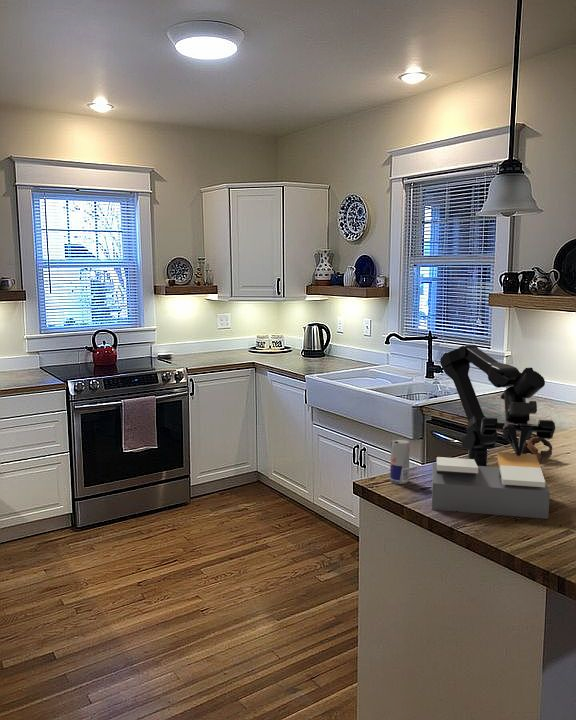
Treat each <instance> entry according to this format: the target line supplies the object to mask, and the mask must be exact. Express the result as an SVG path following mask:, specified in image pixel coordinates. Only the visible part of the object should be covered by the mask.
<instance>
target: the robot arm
mask: <svg viewBox="0 0 576 720" xmlns="http://www.w3.org/2000/svg"><path fill="white" fill-rule="evenodd" d="M439 362H440V365H441V368H442V369H443V372H444V374H446V376H448V377H449V378H450V379H451V380H452V381H453V383H454V386H455V388H456V391H457V394H458V398H459V400H460V401H461V402H460V403H461V405H462V408H463V411H464V413H465V416H466V418H467V424H466V428H465V429H466V430H465V431H466V435H464V437H463V438H462V439H461V446H462V448H464V449H466V450H467V451H468V452H467V459H474V460H475V462H476V464H477V466H487V467H490V466H489V465H488V452H489V451H488V450H489V449H495V446H496V444H497V440H498V432H497V431H502V439H503V440H506V441H507V442H508V444H509V445H510V446H511V448H512V450H513V451H514V453H516V455H517V456H520V455H521V452H522V449H523V446H524V444H525V442H526V441H527V440H530V439H531V438H532V436H533V435H532V434H533V432H535V434H536V436H535V437H539V438H540V439H546V440H550V439H551V440H552V439H553V437H554V434H555V430H556V423H555V422H554V421H553V420H552V419H539V420H538V421H537V424H533V423H529V421H530V418H531V417H530V416H531V415H533V414H534V415H535V414H537V412H538V405H537V404H538V403H537V400H529V401H528V402H527V399H530V398H532V397H533V396H535V394H537V393H538V392H539V391H540V390H541V389H543V388H544V387H545V385H546V381H545V380H546V379H545V378H544V376H543V375H541V374H540V373H539V372H538V371H535V370H534V369H533V367H525V368H524V369H523V370H522V372H520V371H519V369H518V368H517V367H516V366H513V365H511V364H508V363H502V362H499V361H497V360H496V359H494V358H493V357H492V356H490V355H489V354H487V353H486V352H484V351H483V350H482V349H480V348H479V347H478V346H477V345H475V344H468V345H467V344H464V345H462V346H459V347H458V348H455V349H453V350H451V351H448V352H444V353H443V354H442V356H441V358H440V361H439ZM470 364H472V365H473V366H474V367H475V366H476V368H478V369H479V370H481V372H483V373H485V374H486V376H487V379H488V381H489V382H490V383H491V385H493V386H494V388H506V389H505V390H504V391H503V393H502V394H501V395H500V399H501V400H503V401H504V416H505V421H504V422H498V417H491V416H490V417H488V416H487V417H486V416H485V415H484V412H483V410H482V406H481V405H480V401H479V399H478V397H477V395H476V392H475V389H474V386H473V384H472V381H471V378H470V376H469V372H470V368H471V365H470ZM517 432H519V436H517ZM517 440H519V445H518V441H517Z"/></svg>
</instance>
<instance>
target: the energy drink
mask: <svg viewBox="0 0 576 720" xmlns="http://www.w3.org/2000/svg"><path fill="white" fill-rule="evenodd" d="M410 447H411V444H410V441H409V440H408V439H405V438H404V439H403V438H394V439H392V440H391V442H390V468H389V469H390V471H389V481H390V482H391V483H393V484H397V485H405V484H407V483H409V482H410V455H411V454H410V452H411V451H410V450H411V449H410Z"/></svg>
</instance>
